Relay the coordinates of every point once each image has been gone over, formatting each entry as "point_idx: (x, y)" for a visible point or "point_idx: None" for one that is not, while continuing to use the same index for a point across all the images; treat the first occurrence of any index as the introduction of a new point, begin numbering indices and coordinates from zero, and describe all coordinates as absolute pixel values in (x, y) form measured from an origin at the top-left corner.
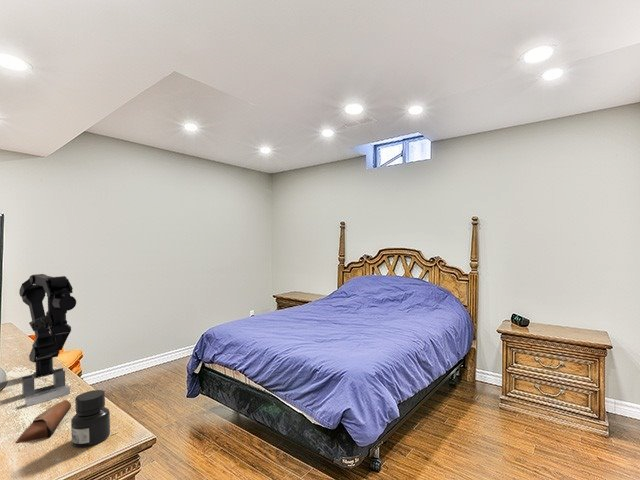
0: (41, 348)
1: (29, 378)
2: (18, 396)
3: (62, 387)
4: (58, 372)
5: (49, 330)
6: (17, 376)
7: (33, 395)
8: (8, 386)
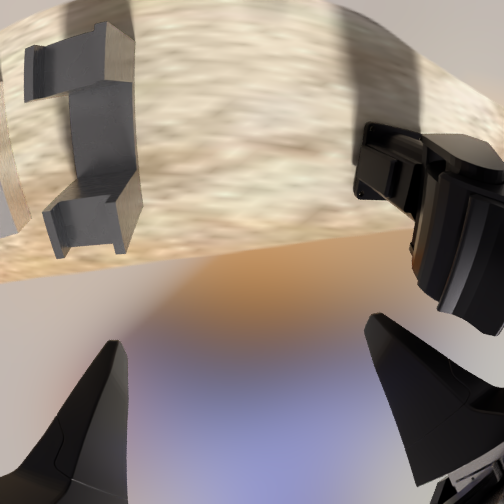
0: (461, 209)
1: (30, 76)
2: None
3: (1, 215)
4: (47, 228)
5: (497, 426)
6: (438, 87)
7: None
8: (337, 13)
